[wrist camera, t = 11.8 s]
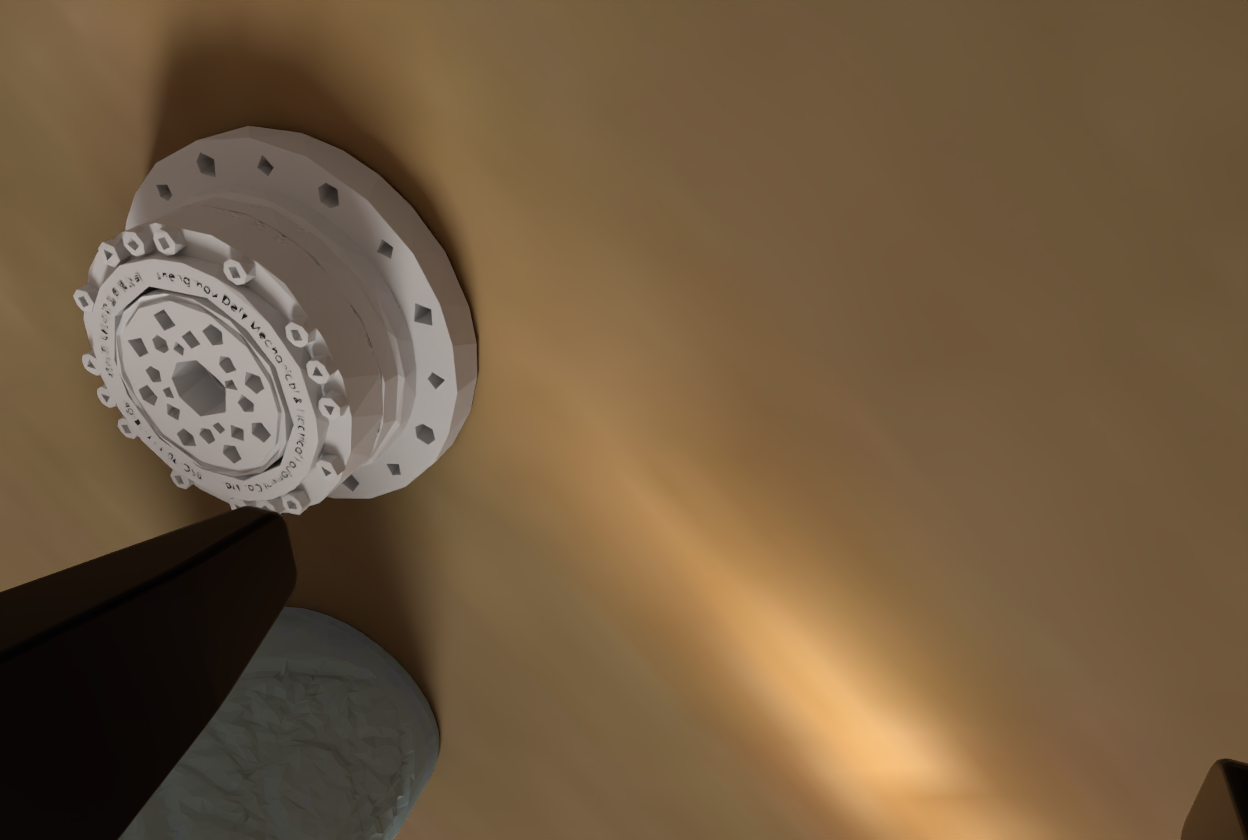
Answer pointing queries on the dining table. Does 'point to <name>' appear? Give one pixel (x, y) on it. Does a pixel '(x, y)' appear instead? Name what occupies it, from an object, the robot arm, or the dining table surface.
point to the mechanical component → (279, 324)
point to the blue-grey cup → (303, 745)
